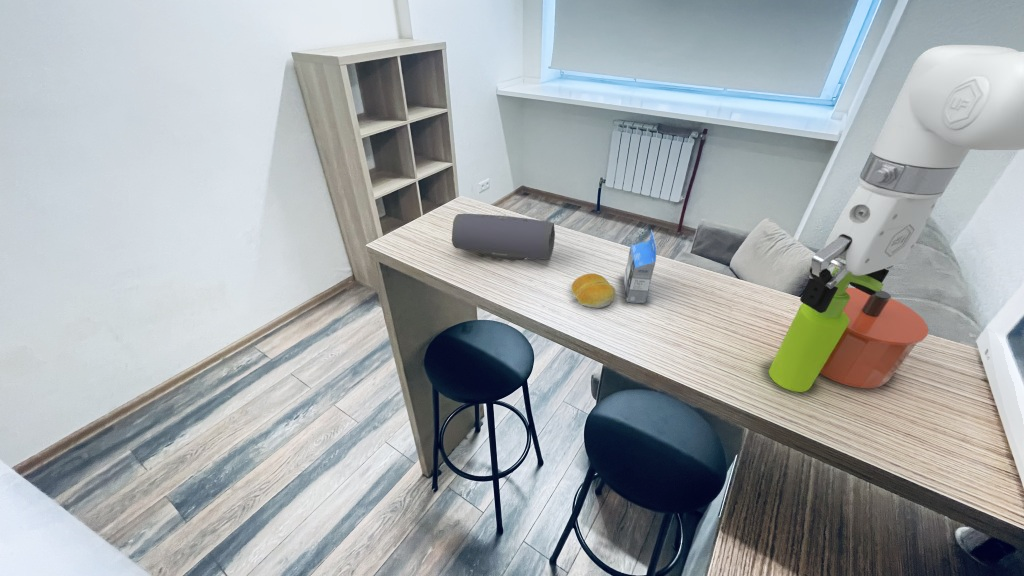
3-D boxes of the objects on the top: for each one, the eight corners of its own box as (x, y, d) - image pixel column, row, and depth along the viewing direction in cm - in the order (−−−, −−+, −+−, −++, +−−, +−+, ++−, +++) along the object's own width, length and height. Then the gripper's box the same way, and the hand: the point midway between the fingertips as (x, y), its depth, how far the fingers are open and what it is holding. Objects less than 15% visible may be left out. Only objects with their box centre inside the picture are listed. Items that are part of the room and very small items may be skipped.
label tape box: (623, 278, 89) (631, 227, 82) (642, 279, 88) (652, 228, 81) (626, 302, 82) (636, 249, 75) (647, 304, 81) (658, 250, 74)
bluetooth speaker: (554, 251, 99) (556, 213, 93) (547, 271, 92) (549, 231, 86) (466, 241, 104) (462, 205, 98) (453, 260, 96) (448, 221, 91)
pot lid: (945, 333, 60) (965, 308, 57) (885, 359, 56) (903, 334, 53) (851, 284, 70) (864, 262, 67) (795, 304, 66) (806, 280, 63)
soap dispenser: (813, 402, 61) (880, 294, 49) (763, 378, 65) (815, 273, 53) (822, 380, 64) (888, 274, 53) (775, 358, 68) (826, 256, 57)
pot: (907, 374, 65) (942, 328, 60) (854, 398, 61) (886, 352, 56) (830, 326, 75) (854, 284, 69) (780, 345, 71) (801, 302, 65)
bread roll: (583, 313, 79) (585, 296, 77) (566, 287, 86) (568, 271, 84) (622, 305, 81) (625, 289, 79) (602, 281, 88) (604, 265, 86)
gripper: (891, 199, 40) (818, 331, 50) (991, 173, 45) (908, 297, 55) (818, 175, 46) (766, 298, 55) (915, 155, 51) (851, 270, 61)
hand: (837, 297), depth 55 cm, fingers open, 9 cm apart
